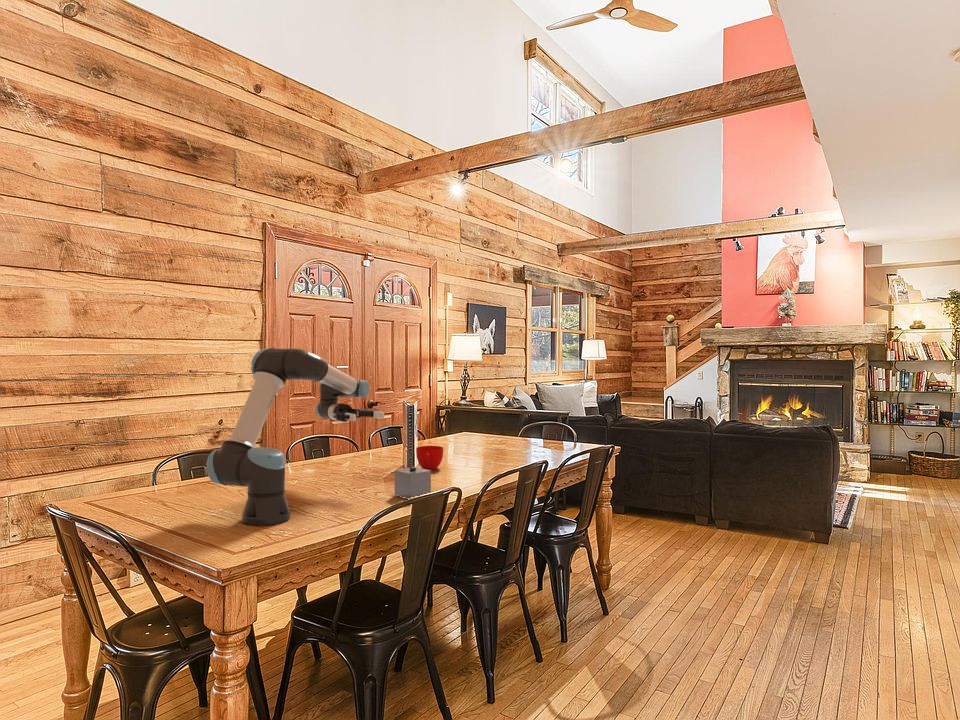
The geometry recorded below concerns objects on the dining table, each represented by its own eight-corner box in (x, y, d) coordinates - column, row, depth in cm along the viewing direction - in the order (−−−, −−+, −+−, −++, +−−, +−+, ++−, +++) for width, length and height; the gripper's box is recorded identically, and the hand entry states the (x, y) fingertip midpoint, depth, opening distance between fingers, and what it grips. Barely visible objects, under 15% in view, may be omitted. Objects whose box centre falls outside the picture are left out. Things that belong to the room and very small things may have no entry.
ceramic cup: (413, 472, 280) (413, 451, 280) (418, 465, 297) (418, 445, 297) (440, 473, 280) (441, 451, 279) (444, 466, 296) (444, 445, 296)
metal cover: (430, 496, 236) (431, 467, 236) (410, 500, 229) (410, 470, 229) (414, 491, 243) (414, 463, 243) (394, 495, 236) (394, 467, 236)
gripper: (365, 418, 267) (394, 423, 251) (314, 423, 249) (342, 428, 234) (365, 401, 266) (394, 405, 251) (314, 405, 249) (342, 409, 234)
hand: (369, 416), depth 243 cm, fingers open, 13 cm apart
